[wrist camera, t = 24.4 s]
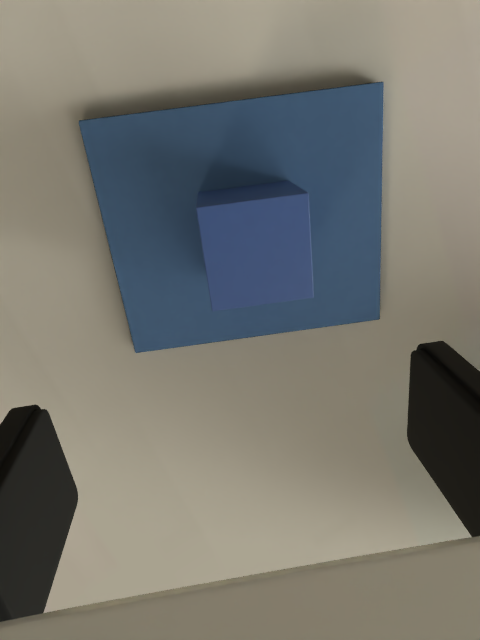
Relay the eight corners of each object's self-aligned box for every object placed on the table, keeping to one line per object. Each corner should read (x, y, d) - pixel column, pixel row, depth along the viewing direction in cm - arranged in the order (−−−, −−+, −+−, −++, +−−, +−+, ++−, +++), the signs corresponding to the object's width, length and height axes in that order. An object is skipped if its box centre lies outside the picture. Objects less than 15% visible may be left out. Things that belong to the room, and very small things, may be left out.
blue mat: (136, 348, 25) (135, 353, 24) (81, 120, 20) (77, 120, 19) (376, 315, 25) (379, 319, 25) (379, 82, 20) (384, 81, 20)
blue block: (210, 279, 23) (211, 311, 19) (197, 192, 21) (195, 207, 17) (294, 267, 23) (314, 298, 19) (288, 180, 21) (308, 192, 17)
